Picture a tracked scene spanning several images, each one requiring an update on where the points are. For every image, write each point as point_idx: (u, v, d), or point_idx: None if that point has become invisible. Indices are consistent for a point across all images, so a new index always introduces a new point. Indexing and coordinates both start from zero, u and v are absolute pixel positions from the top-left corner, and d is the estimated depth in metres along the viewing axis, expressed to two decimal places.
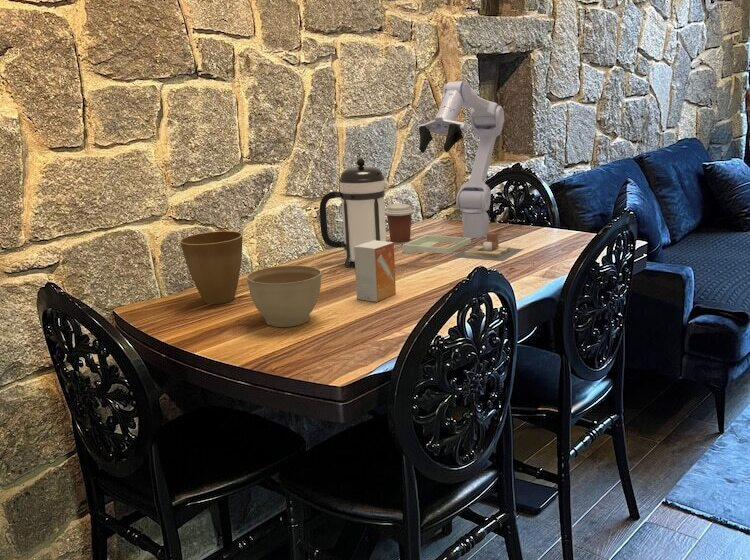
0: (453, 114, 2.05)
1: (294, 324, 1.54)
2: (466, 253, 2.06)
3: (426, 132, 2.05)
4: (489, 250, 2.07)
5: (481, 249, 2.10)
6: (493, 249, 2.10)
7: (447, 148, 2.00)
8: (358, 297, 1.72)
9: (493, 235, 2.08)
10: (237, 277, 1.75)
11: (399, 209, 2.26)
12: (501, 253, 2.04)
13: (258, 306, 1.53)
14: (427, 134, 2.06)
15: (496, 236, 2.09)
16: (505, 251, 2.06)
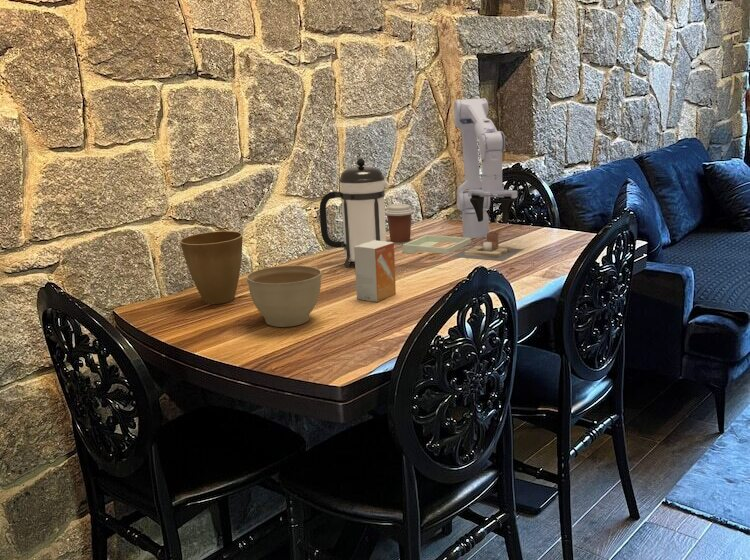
0: (499, 179, 2.04)
1: (294, 324, 1.54)
2: (466, 253, 2.06)
3: (478, 202, 2.08)
4: (489, 250, 2.07)
5: (481, 249, 2.10)
6: (493, 249, 2.10)
7: (506, 220, 2.07)
8: (358, 297, 1.72)
9: (493, 235, 2.08)
10: (237, 277, 1.75)
11: (399, 209, 2.26)
12: (501, 253, 2.04)
13: (258, 306, 1.53)
14: (479, 202, 2.09)
15: (496, 236, 2.09)
16: (505, 251, 2.06)
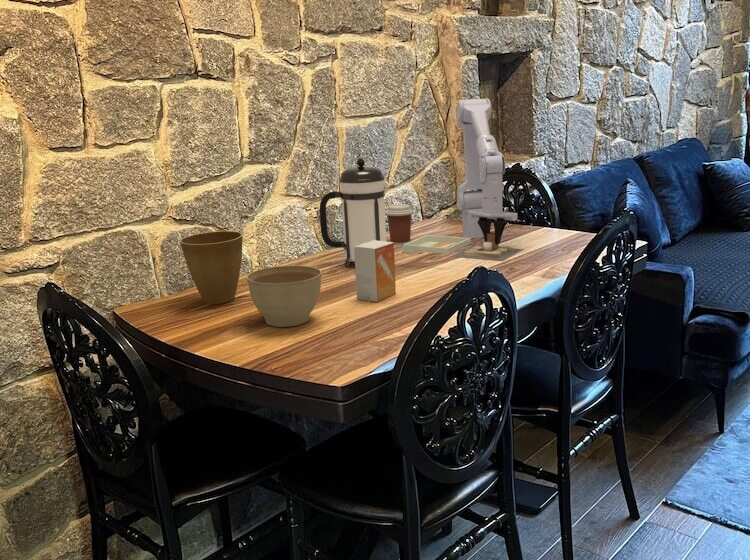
0: (499, 201, 2.05)
1: (294, 324, 1.54)
2: (466, 253, 2.06)
3: (486, 224, 2.09)
4: (489, 250, 2.07)
5: (481, 249, 2.10)
6: (493, 249, 2.10)
7: (498, 242, 2.09)
8: (358, 297, 1.72)
9: (493, 235, 2.08)
10: (237, 277, 1.75)
11: (399, 209, 2.26)
12: (501, 253, 2.04)
13: (258, 306, 1.53)
14: (487, 224, 2.10)
15: None
16: (505, 251, 2.06)
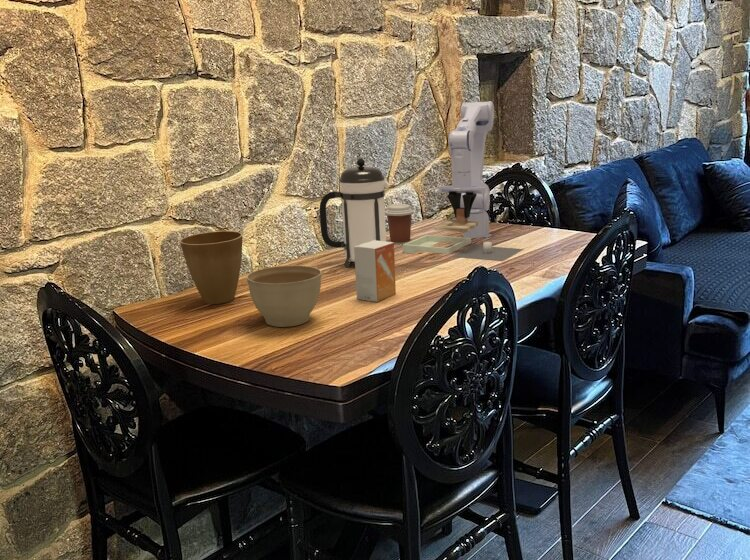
0: (468, 176, 2.10)
1: (294, 324, 1.54)
2: (436, 228, 2.11)
3: (455, 198, 2.14)
4: (489, 250, 2.07)
5: (451, 224, 2.15)
6: (462, 224, 2.15)
7: (468, 215, 2.15)
8: (358, 297, 1.72)
9: (462, 210, 2.14)
10: (237, 277, 1.75)
11: (399, 209, 2.26)
12: (470, 227, 2.09)
13: (258, 306, 1.53)
14: (457, 198, 2.15)
15: None
16: (474, 225, 2.12)
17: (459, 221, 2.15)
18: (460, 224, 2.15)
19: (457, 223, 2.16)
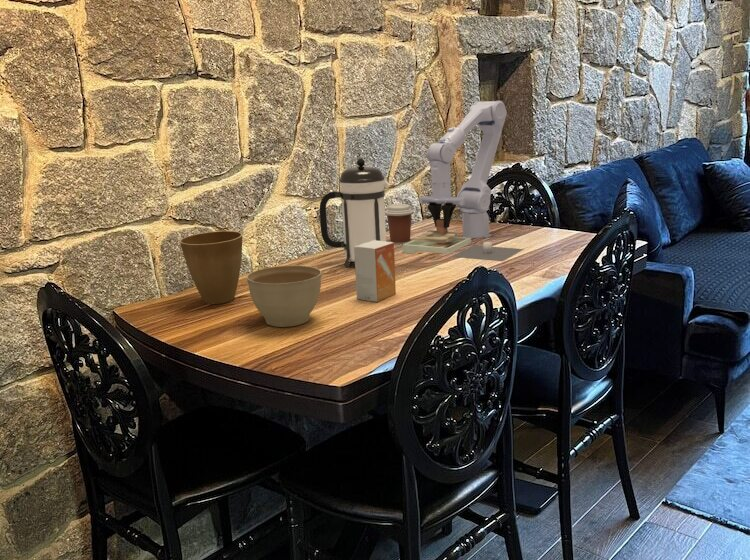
0: (447, 187, 2.16)
1: (294, 324, 1.54)
2: (416, 239, 2.17)
3: (435, 209, 2.20)
4: (489, 250, 2.07)
5: (431, 235, 2.21)
6: (442, 234, 2.21)
7: (447, 225, 2.21)
8: (358, 297, 1.72)
9: (442, 221, 2.19)
10: (237, 277, 1.75)
11: (399, 209, 2.26)
12: (448, 238, 2.15)
13: (258, 306, 1.53)
14: (437, 208, 2.21)
15: None
16: (453, 236, 2.17)
17: (439, 232, 2.21)
18: (440, 234, 2.21)
19: (437, 234, 2.22)
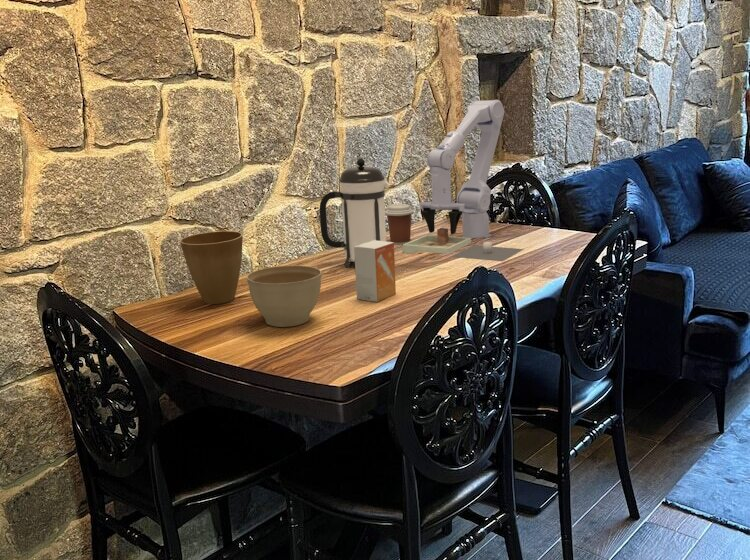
0: (447, 193, 2.17)
1: (294, 324, 1.54)
2: None
3: (429, 214, 2.22)
4: (489, 250, 2.07)
5: (432, 244, 2.23)
6: (443, 244, 2.22)
7: (454, 232, 2.20)
8: (358, 297, 1.72)
9: (443, 231, 2.21)
10: (237, 277, 1.75)
11: (399, 209, 2.26)
12: None
13: (258, 306, 1.53)
14: (431, 214, 2.22)
15: (446, 231, 2.21)
16: None
17: (440, 241, 2.22)
18: (440, 244, 2.22)
19: (438, 243, 2.23)
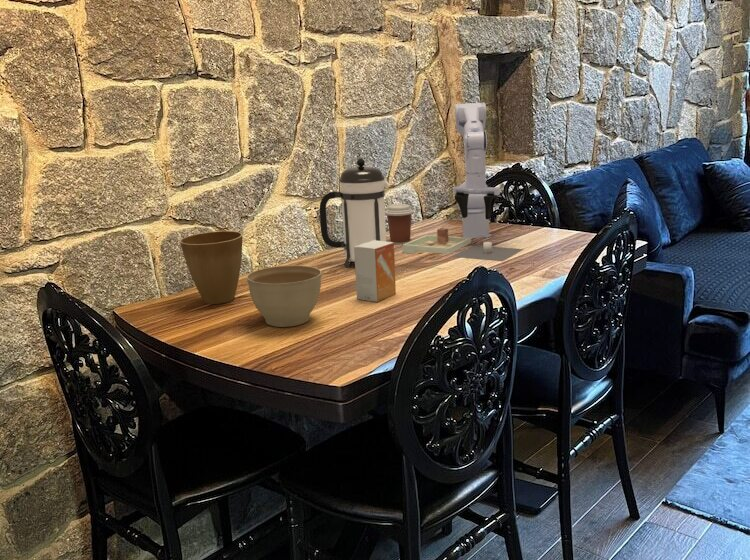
0: (482, 177, 2.11)
1: (294, 324, 1.54)
2: None
3: (463, 199, 2.15)
4: (489, 250, 2.07)
5: (432, 244, 2.23)
6: (443, 244, 2.22)
7: (489, 217, 2.14)
8: (358, 297, 1.72)
9: (443, 231, 2.21)
10: (237, 277, 1.75)
11: (399, 209, 2.26)
12: None
13: (258, 306, 1.53)
14: (464, 199, 2.16)
15: (446, 231, 2.21)
16: None
17: (440, 241, 2.22)
18: (440, 244, 2.22)
19: (438, 243, 2.23)
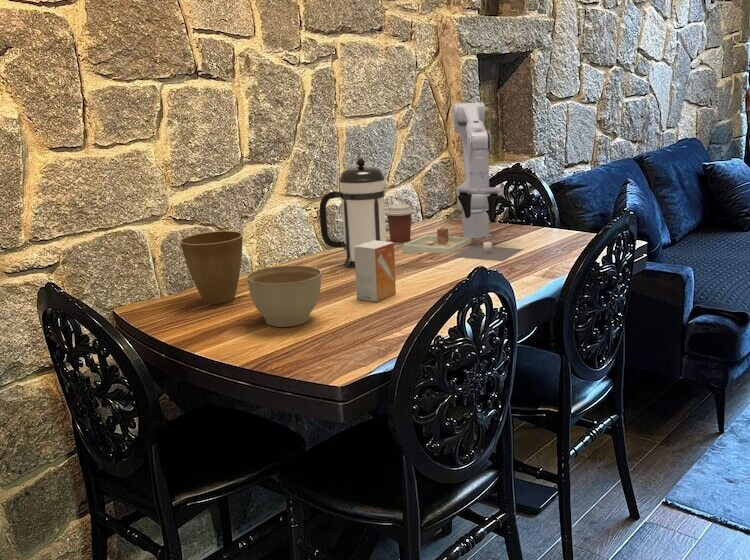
0: (485, 177, 2.10)
1: (294, 324, 1.54)
2: None
3: (466, 199, 2.15)
4: (489, 250, 2.07)
5: (432, 244, 2.23)
6: (443, 244, 2.22)
7: (492, 217, 2.13)
8: (358, 297, 1.72)
9: (443, 231, 2.21)
10: (237, 277, 1.75)
11: (399, 209, 2.26)
12: None
13: (258, 306, 1.53)
14: (467, 199, 2.16)
15: (446, 231, 2.21)
16: None
17: (440, 241, 2.22)
18: (440, 244, 2.22)
19: (438, 243, 2.23)
